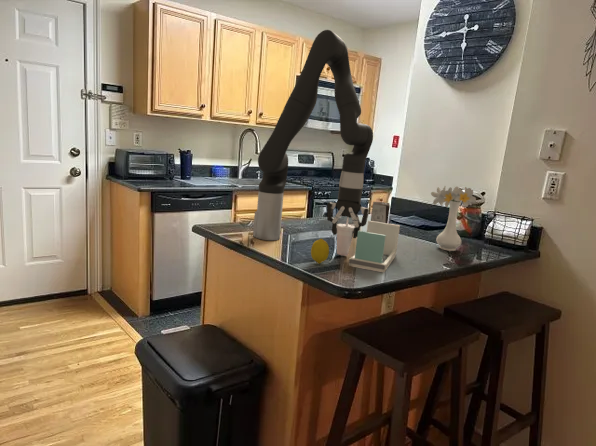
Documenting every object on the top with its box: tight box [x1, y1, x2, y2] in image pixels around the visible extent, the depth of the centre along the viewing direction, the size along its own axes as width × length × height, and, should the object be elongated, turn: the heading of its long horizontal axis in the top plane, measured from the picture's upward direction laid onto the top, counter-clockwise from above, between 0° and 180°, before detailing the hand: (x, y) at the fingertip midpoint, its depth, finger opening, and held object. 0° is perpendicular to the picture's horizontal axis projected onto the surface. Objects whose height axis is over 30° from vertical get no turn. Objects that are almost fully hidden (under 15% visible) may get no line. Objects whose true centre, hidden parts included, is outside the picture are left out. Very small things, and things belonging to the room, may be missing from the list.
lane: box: [348, 220, 401, 273], centre depth 140 cm, size 11×23×11 cm, turn 159°
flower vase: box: [430, 185, 477, 252], centre depth 166 cm, size 13×18×25 cm
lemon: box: [310, 238, 330, 265], centre depth 131 cm, size 6×6×8 cm
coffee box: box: [370, 201, 391, 224], centre depth 164 cm, size 9×6×16 cm
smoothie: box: [336, 216, 355, 256], centre depth 142 cm, size 6×6×14 cm
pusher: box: [354, 230, 386, 263], centre depth 131 cm, size 8×1×10 cm, turn 69°
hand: (344, 235), depth 142 cm, fingers closed on smoothie, 6 cm apart
